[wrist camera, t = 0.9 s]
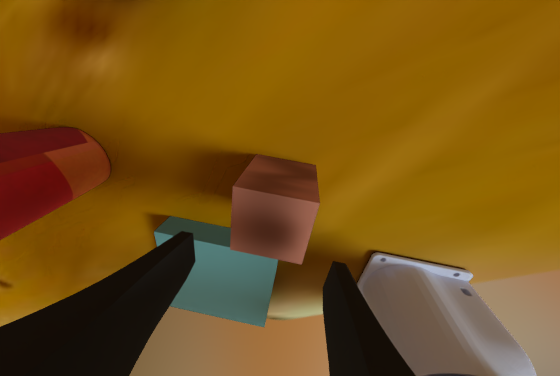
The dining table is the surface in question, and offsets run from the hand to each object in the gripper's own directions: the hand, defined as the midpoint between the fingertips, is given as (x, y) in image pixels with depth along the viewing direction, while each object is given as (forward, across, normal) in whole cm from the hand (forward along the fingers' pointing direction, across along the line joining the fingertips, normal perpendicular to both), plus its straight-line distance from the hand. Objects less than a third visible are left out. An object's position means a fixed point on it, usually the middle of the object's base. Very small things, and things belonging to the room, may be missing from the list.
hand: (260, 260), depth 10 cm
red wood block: (+8, 0, 0) cm, 9 cm away
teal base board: (+9, +5, +12) cm, 16 cm away
